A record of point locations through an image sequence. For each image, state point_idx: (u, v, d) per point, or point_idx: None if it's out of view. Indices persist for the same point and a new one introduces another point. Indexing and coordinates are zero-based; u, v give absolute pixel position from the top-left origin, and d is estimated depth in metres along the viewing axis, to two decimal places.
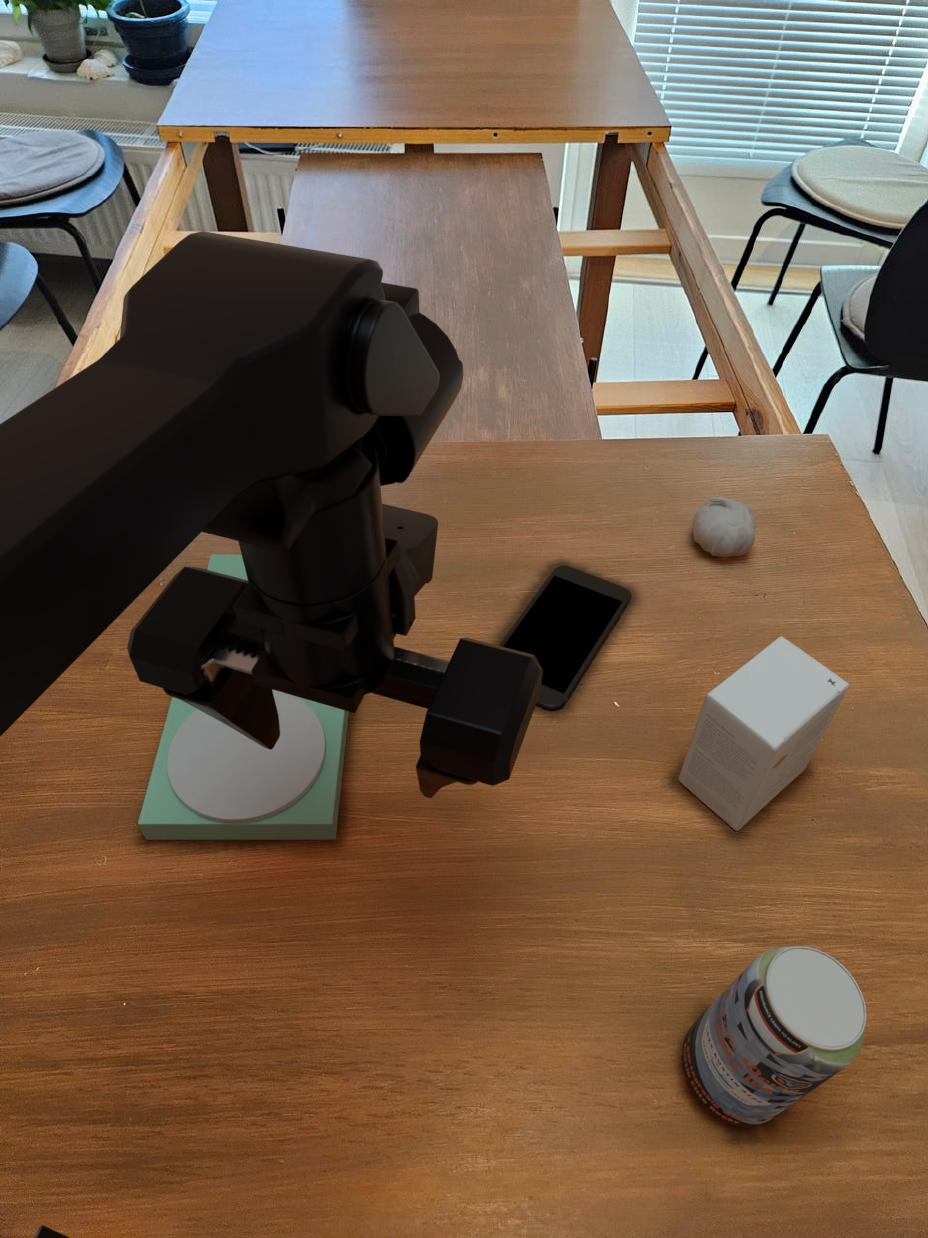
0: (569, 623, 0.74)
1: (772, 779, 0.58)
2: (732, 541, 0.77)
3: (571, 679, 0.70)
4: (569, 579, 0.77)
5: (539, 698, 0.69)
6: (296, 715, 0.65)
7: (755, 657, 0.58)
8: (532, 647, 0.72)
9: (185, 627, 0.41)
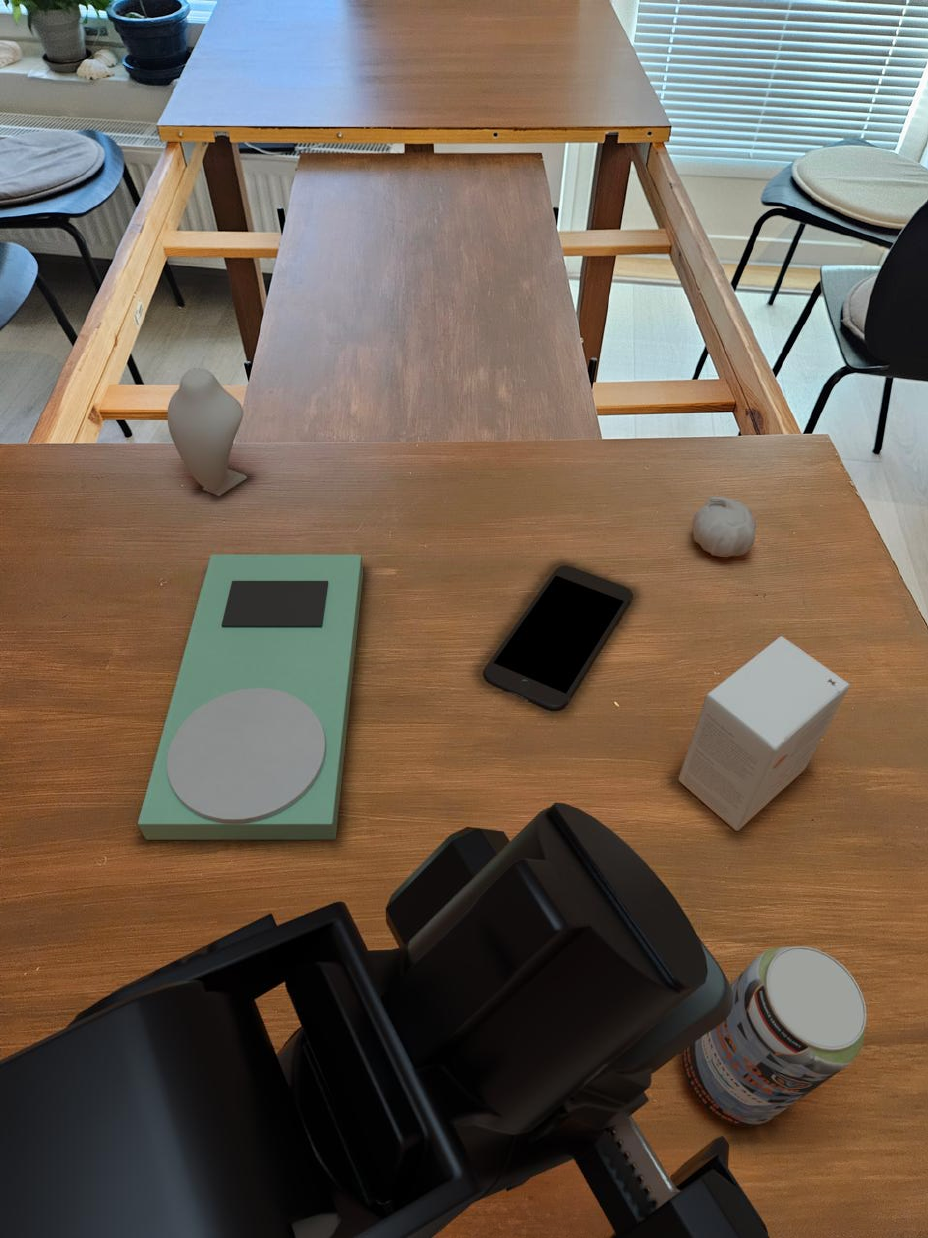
0: (570, 623, 0.74)
1: (772, 779, 0.58)
2: (732, 541, 0.77)
3: (573, 679, 0.70)
4: (570, 579, 0.77)
5: (541, 698, 0.69)
6: (296, 715, 0.65)
7: (755, 657, 0.58)
8: (533, 647, 0.72)
9: None
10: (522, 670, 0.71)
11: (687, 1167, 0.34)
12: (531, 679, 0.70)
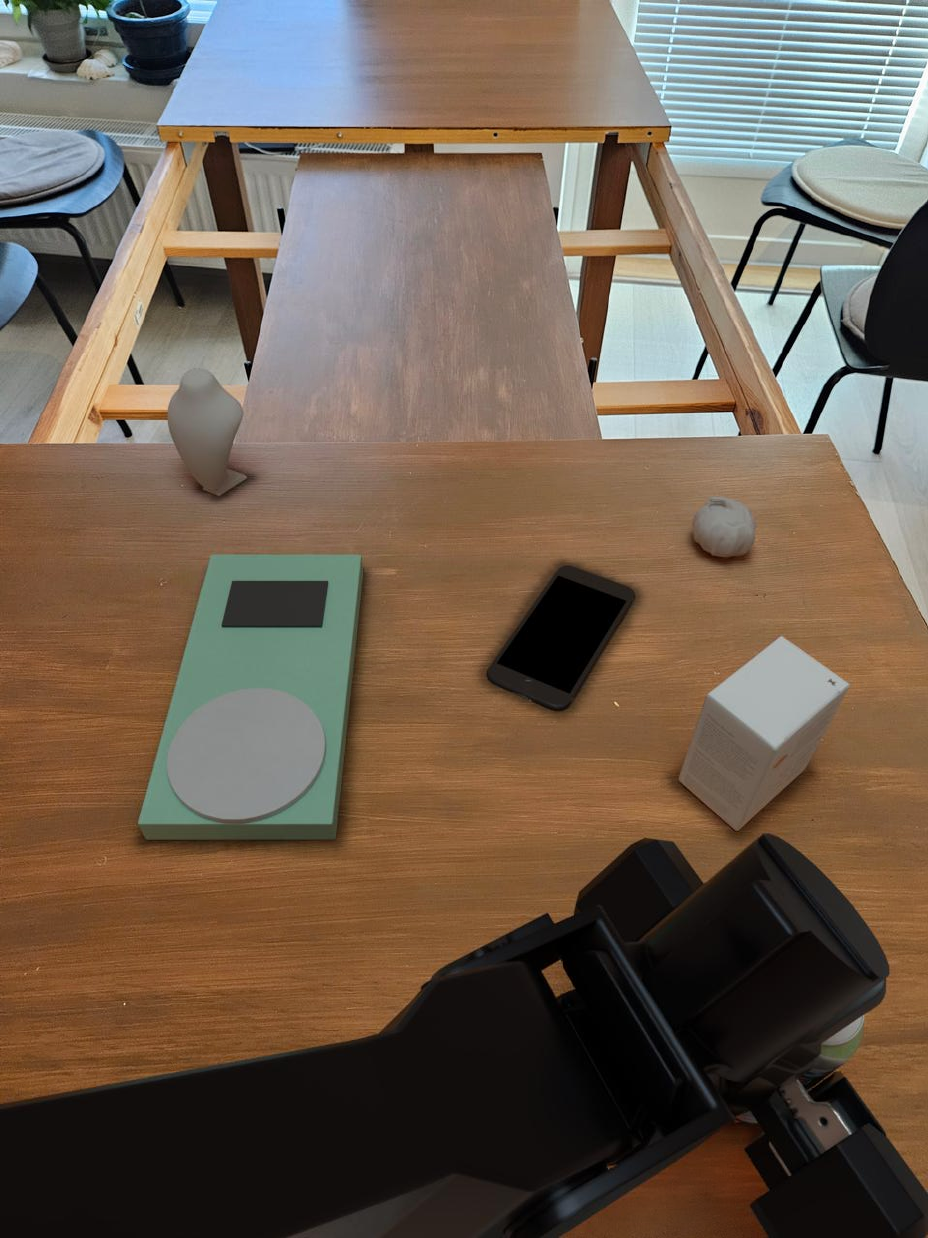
0: (573, 623, 0.74)
1: (772, 779, 0.58)
2: (732, 541, 0.77)
3: (577, 679, 0.70)
4: (573, 579, 0.77)
5: (545, 698, 0.69)
6: (296, 715, 0.65)
7: (755, 657, 0.58)
8: (536, 647, 0.72)
9: None
10: (525, 670, 0.71)
11: (814, 1091, 0.42)
12: (534, 680, 0.70)
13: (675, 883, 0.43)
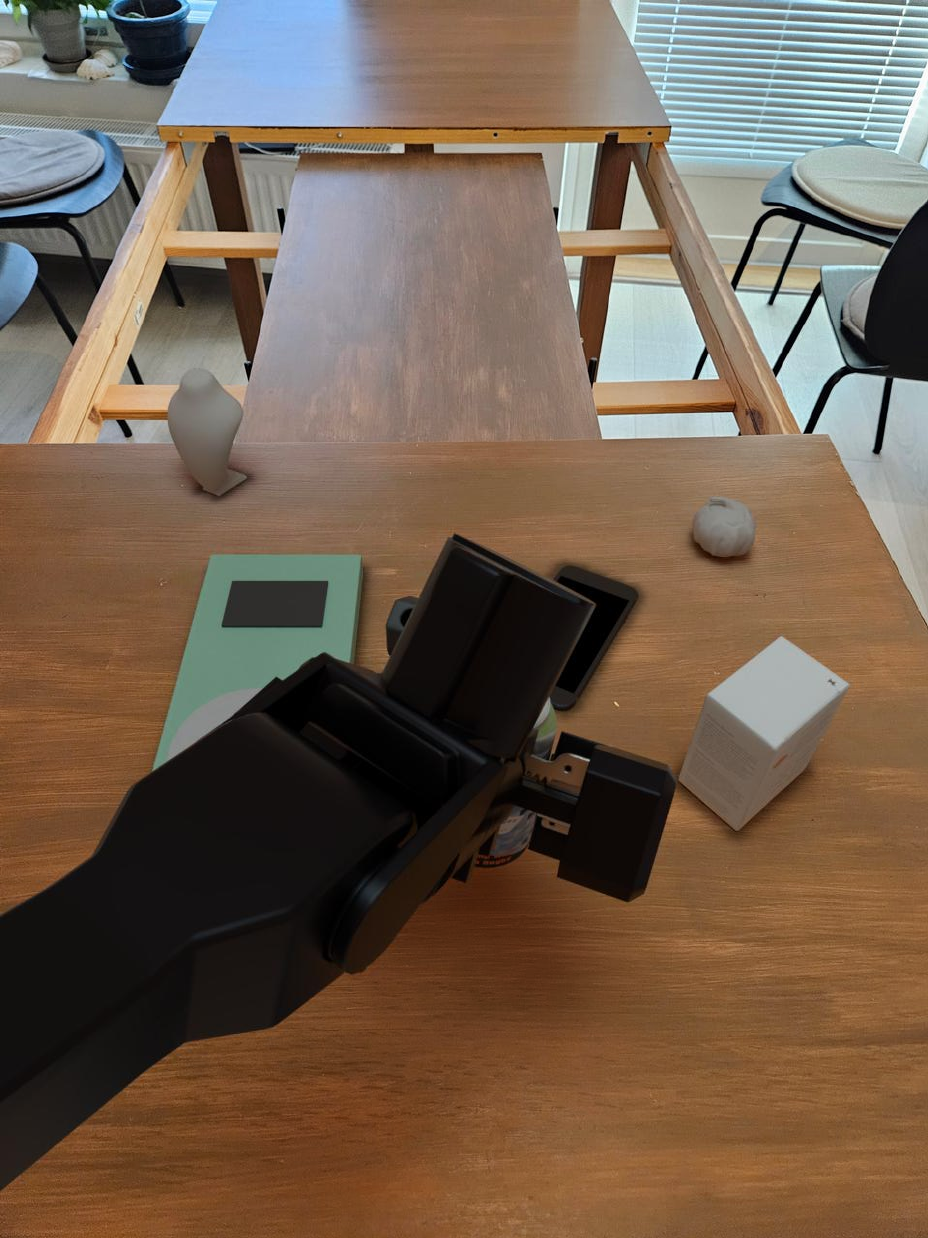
0: None
1: (772, 779, 0.58)
2: (732, 540, 0.77)
3: (581, 679, 0.70)
4: (576, 579, 0.78)
5: None
6: None
7: (755, 657, 0.58)
8: None
9: None
10: None
11: None
12: None
13: None
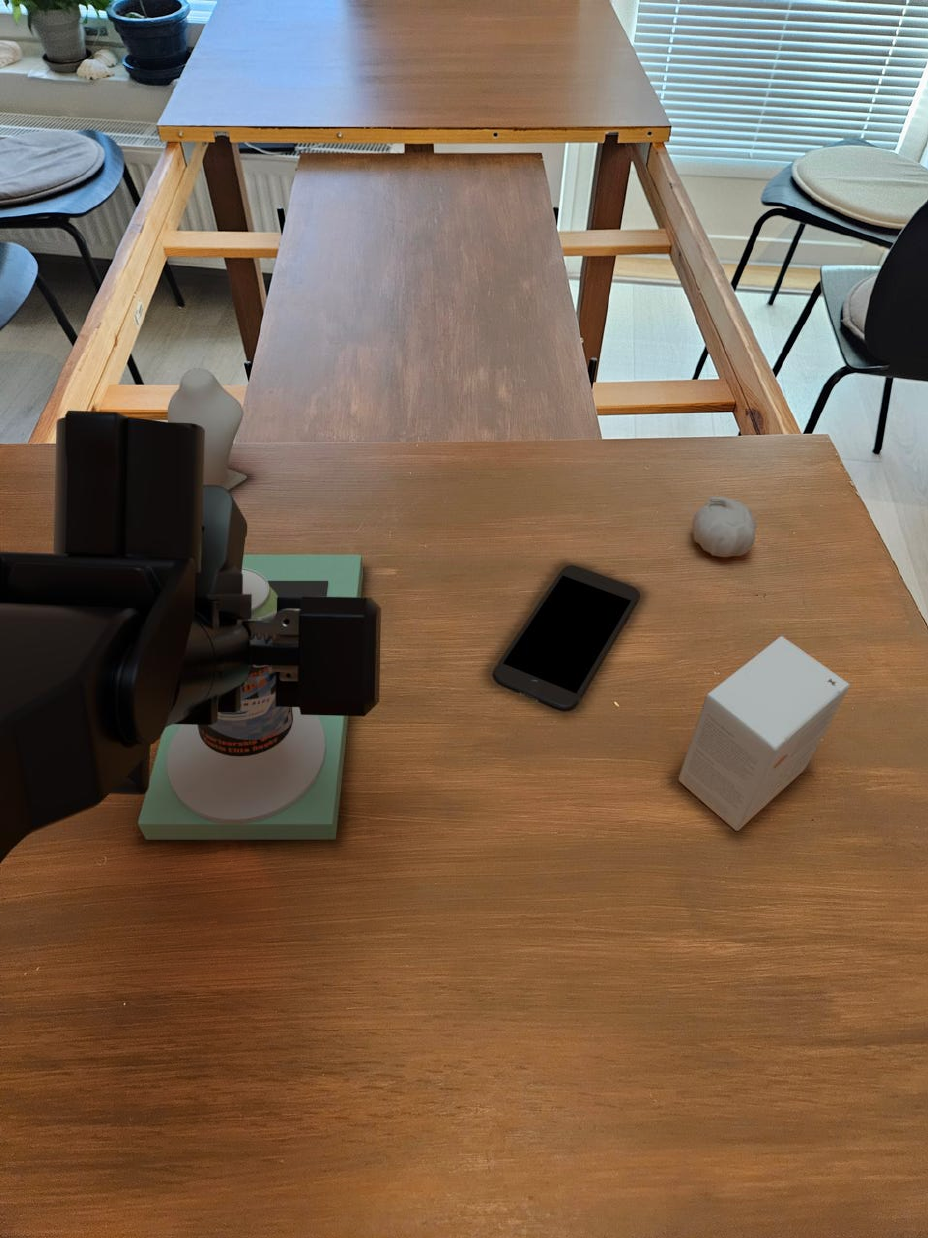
0: (579, 623, 0.74)
1: (772, 779, 0.58)
2: (732, 541, 0.77)
3: (583, 679, 0.70)
4: (577, 579, 0.77)
5: (552, 698, 0.69)
6: (296, 715, 0.65)
7: (755, 657, 0.58)
8: (542, 647, 0.72)
9: None
10: (531, 670, 0.71)
11: None
12: (541, 680, 0.70)
13: None
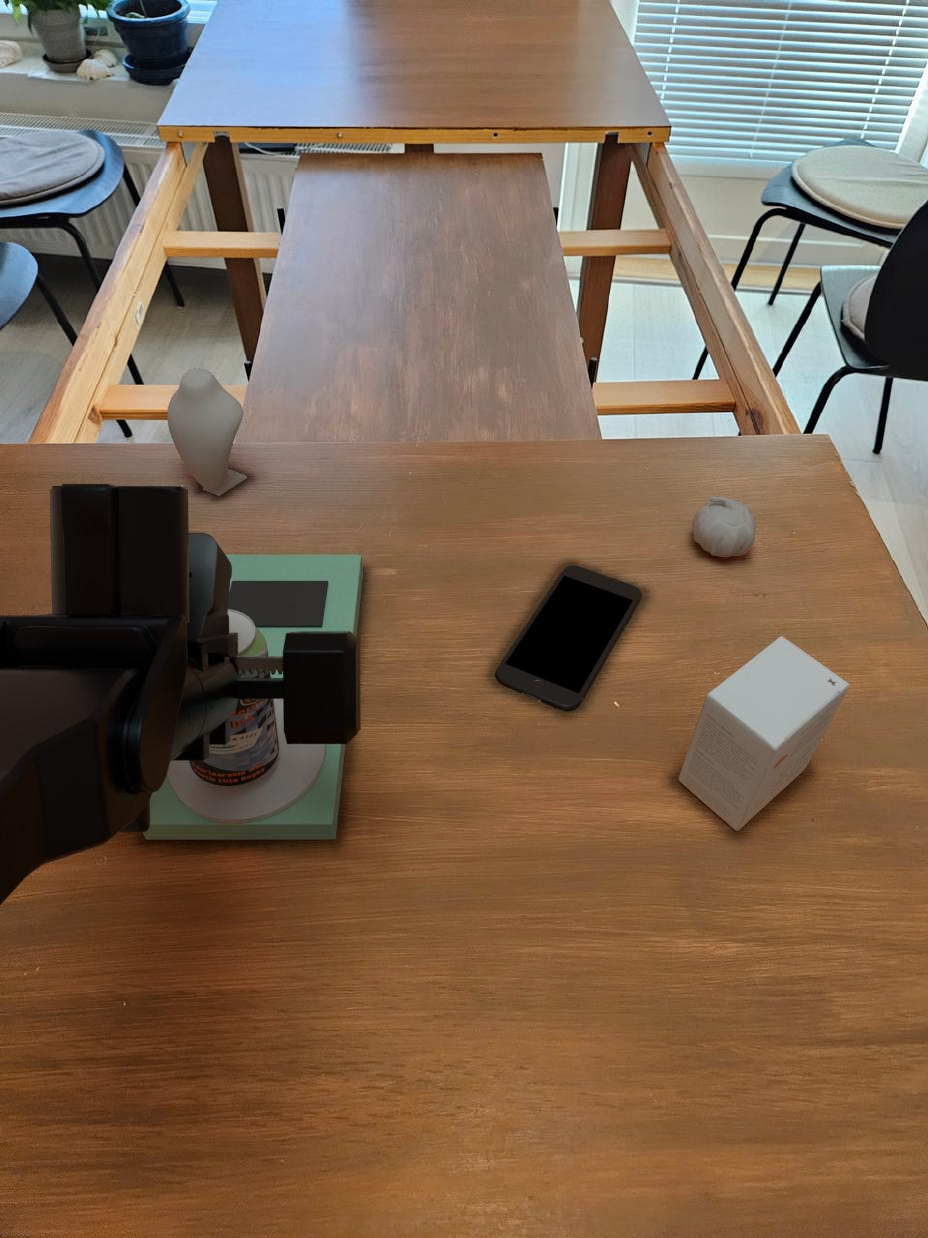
0: (581, 622, 0.74)
1: (772, 779, 0.58)
2: (732, 541, 0.77)
3: (585, 679, 0.70)
4: (579, 579, 0.78)
5: (554, 698, 0.69)
6: None
7: (755, 657, 0.58)
8: (545, 647, 0.72)
9: None
10: (534, 670, 0.71)
11: None
12: (543, 680, 0.70)
13: None
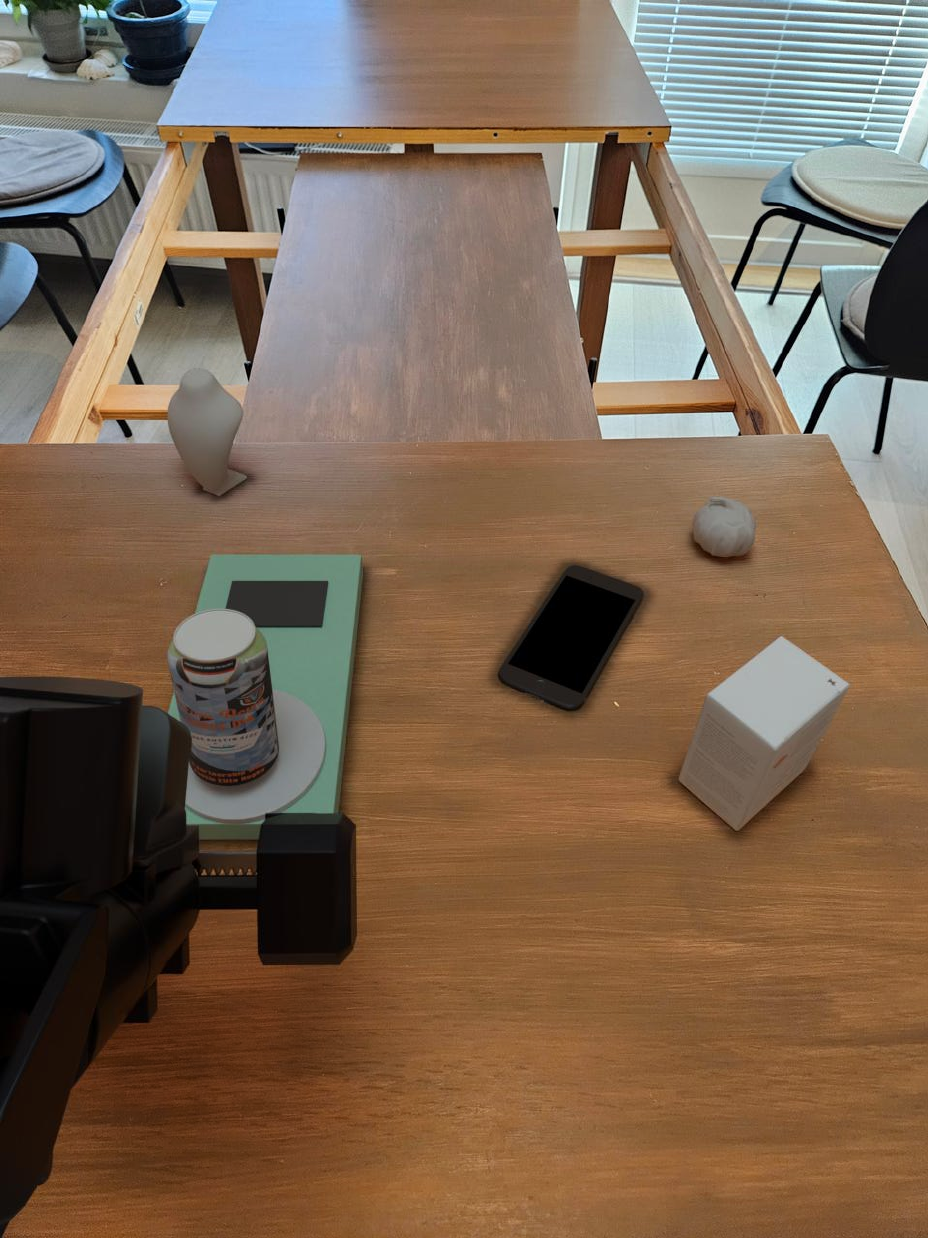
0: (583, 622, 0.74)
1: (772, 779, 0.58)
2: (732, 541, 0.77)
3: (588, 679, 0.70)
4: (581, 579, 0.78)
5: (557, 698, 0.69)
6: (296, 715, 0.65)
7: (755, 657, 0.58)
8: (547, 647, 0.72)
9: None
10: (536, 670, 0.71)
11: None
12: (546, 680, 0.70)
13: None
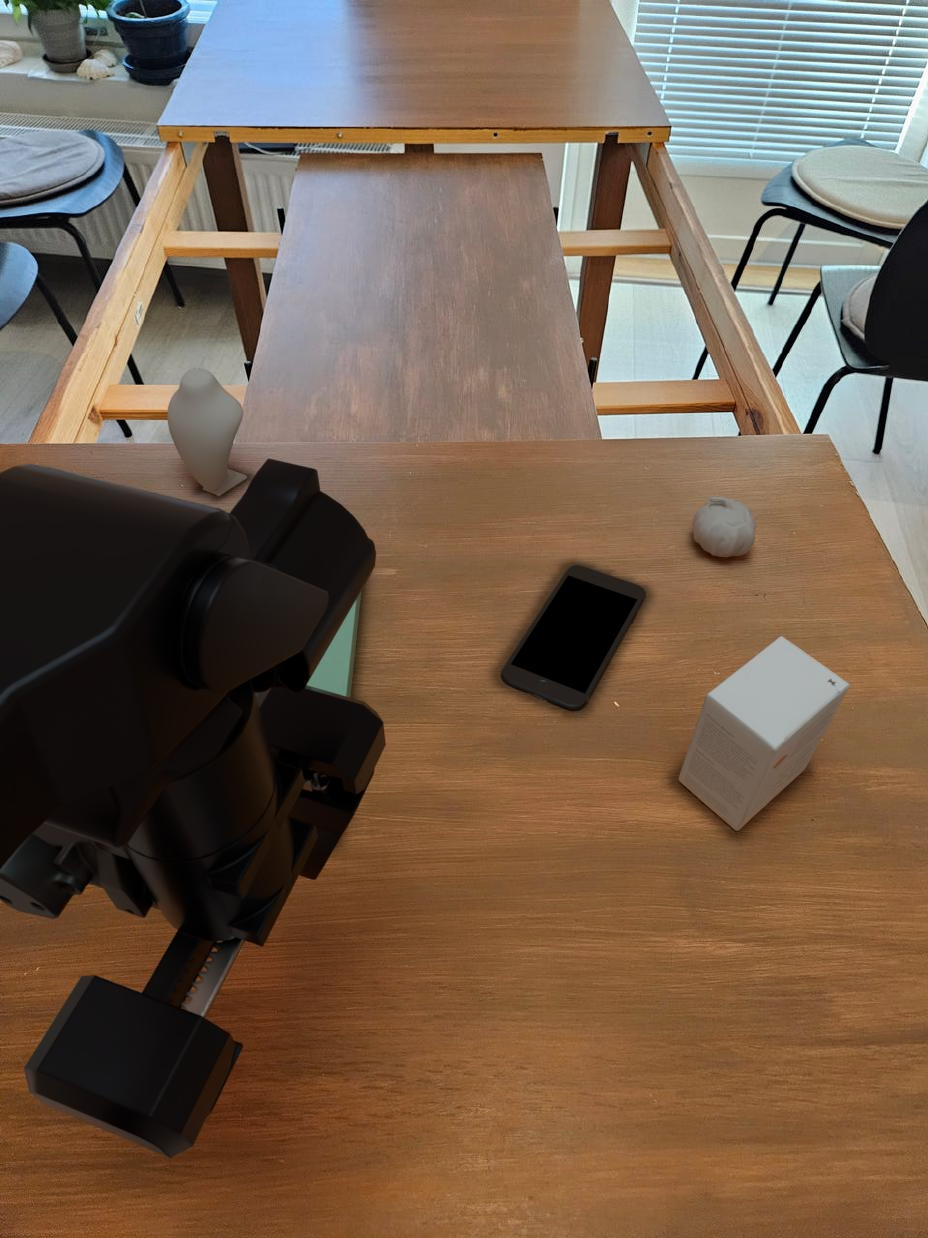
0: (585, 622, 0.74)
1: (772, 779, 0.58)
2: (732, 541, 0.77)
3: (591, 679, 0.70)
4: (583, 578, 0.78)
5: (560, 698, 0.69)
6: None
7: (755, 657, 0.58)
8: (550, 648, 0.72)
9: (161, 1042, 0.30)
10: (539, 670, 0.71)
11: None
12: (549, 680, 0.70)
13: (70, 1002, 0.32)
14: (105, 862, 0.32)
